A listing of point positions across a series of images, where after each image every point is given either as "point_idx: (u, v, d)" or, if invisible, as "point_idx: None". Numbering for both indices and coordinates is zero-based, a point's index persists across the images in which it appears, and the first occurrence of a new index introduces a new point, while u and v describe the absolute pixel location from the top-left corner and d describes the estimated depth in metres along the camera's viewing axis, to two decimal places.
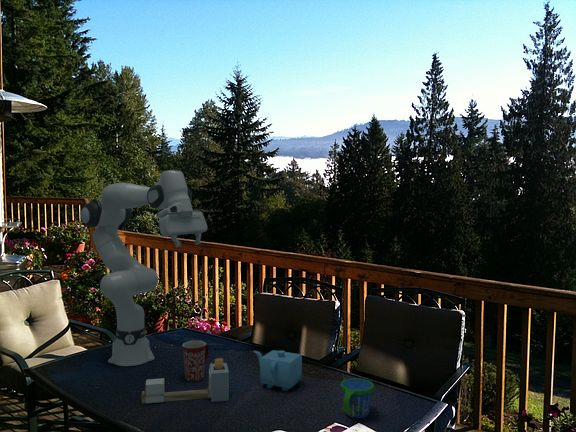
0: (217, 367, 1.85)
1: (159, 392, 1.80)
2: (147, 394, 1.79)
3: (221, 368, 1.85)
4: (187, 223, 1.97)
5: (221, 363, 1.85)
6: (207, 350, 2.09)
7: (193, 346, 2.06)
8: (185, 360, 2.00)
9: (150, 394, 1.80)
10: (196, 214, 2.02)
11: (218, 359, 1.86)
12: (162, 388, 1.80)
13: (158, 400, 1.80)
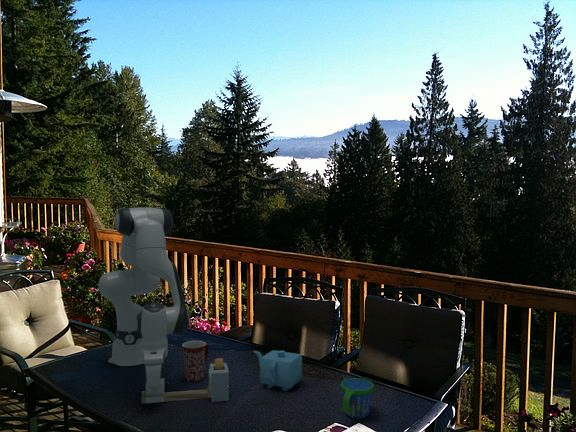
0: (217, 367, 1.85)
1: (159, 392, 1.80)
2: (147, 394, 1.79)
3: (221, 368, 1.85)
4: None
5: (221, 363, 1.85)
6: (207, 350, 2.09)
7: (193, 346, 2.06)
8: (185, 360, 2.00)
9: (150, 394, 1.80)
10: None
11: (218, 359, 1.86)
12: (162, 388, 1.80)
13: (158, 400, 1.80)
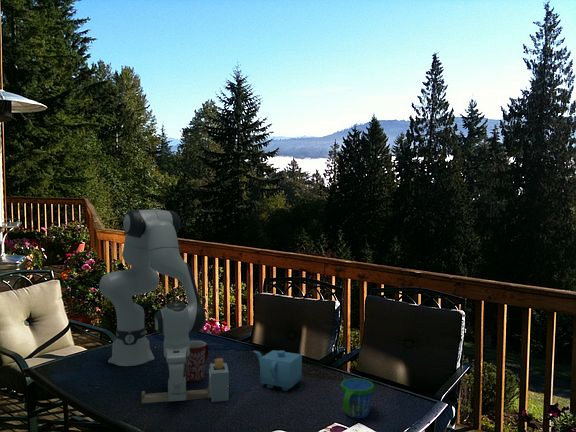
0: (217, 367, 1.85)
1: (181, 391, 1.82)
2: (169, 392, 1.81)
3: (221, 368, 1.85)
4: None
5: (221, 363, 1.85)
6: (207, 350, 2.09)
7: (193, 346, 2.06)
8: None
9: (172, 392, 1.81)
10: None
11: (218, 359, 1.86)
12: (184, 386, 1.82)
13: (180, 398, 1.82)
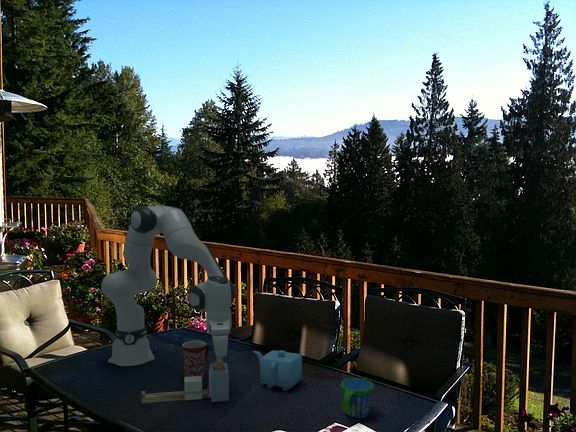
0: None
1: (198, 389, 1.83)
2: (186, 391, 1.82)
3: None
4: None
5: (221, 365, 1.85)
6: (207, 350, 2.09)
7: (193, 346, 2.06)
8: (185, 360, 2.00)
9: (188, 391, 1.82)
10: None
11: None
12: (200, 385, 1.83)
13: (196, 397, 1.83)
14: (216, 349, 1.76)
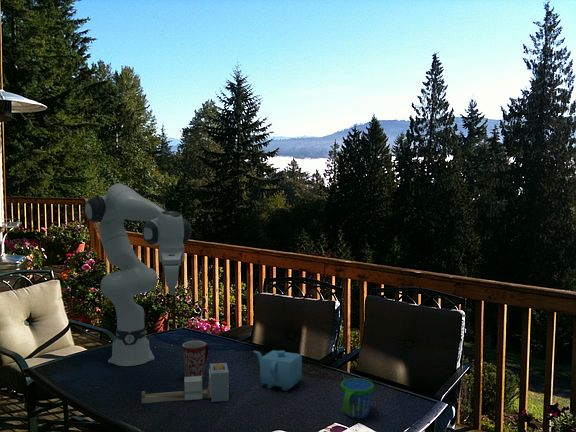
0: None
1: (198, 389, 1.83)
2: (186, 391, 1.82)
3: None
4: None
5: (221, 369, 1.85)
6: (207, 350, 2.09)
7: (193, 346, 2.06)
8: (185, 360, 2.00)
9: (188, 391, 1.82)
10: None
11: (218, 365, 1.86)
12: (200, 385, 1.83)
13: (196, 397, 1.83)
14: (167, 278, 1.80)
